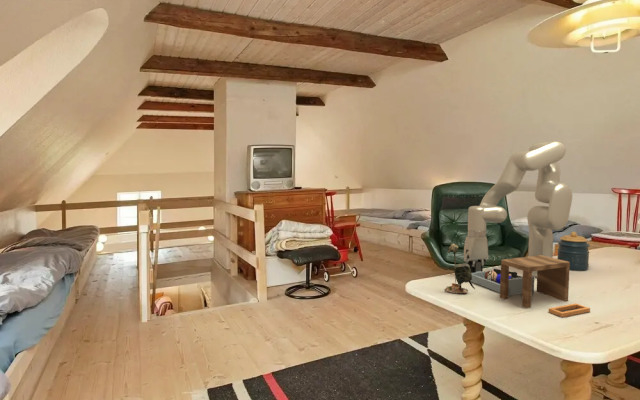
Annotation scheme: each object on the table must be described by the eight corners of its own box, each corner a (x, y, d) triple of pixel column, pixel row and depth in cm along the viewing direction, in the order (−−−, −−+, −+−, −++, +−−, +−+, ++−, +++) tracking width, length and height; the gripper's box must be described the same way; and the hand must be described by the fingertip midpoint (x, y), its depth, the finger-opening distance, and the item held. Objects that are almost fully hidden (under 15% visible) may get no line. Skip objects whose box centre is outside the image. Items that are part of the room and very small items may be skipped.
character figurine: (520, 294, 149) (482, 286, 160) (527, 289, 153) (490, 281, 164) (520, 275, 148) (482, 268, 159) (527, 270, 152) (489, 264, 163)
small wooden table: (539, 291, 152) (540, 255, 151) (568, 300, 141) (569, 262, 139) (499, 297, 145) (500, 259, 144) (526, 308, 134) (528, 267, 132)
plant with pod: (469, 297, 145) (470, 246, 144) (441, 291, 153) (442, 242, 151) (477, 292, 151) (478, 243, 149) (450, 286, 159) (450, 239, 157)
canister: (588, 266, 187) (589, 231, 186) (589, 272, 177) (590, 235, 175) (557, 263, 195) (558, 228, 193) (556, 268, 184) (557, 232, 182)
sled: (485, 274, 175) (485, 259, 174) (533, 291, 150) (534, 274, 150) (461, 277, 170) (461, 262, 170) (507, 295, 146) (508, 277, 145)
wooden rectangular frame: (575, 307, 134) (575, 303, 134) (589, 312, 130) (590, 308, 129) (548, 312, 130) (548, 308, 130) (562, 317, 125) (562, 313, 125)
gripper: (485, 231, 176) (484, 270, 177) (456, 233, 170) (455, 274, 172) (497, 233, 169) (496, 274, 170) (467, 236, 163) (466, 278, 165)
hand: (475, 273), depth 171 cm, fingers closed on sled, 3 cm apart
